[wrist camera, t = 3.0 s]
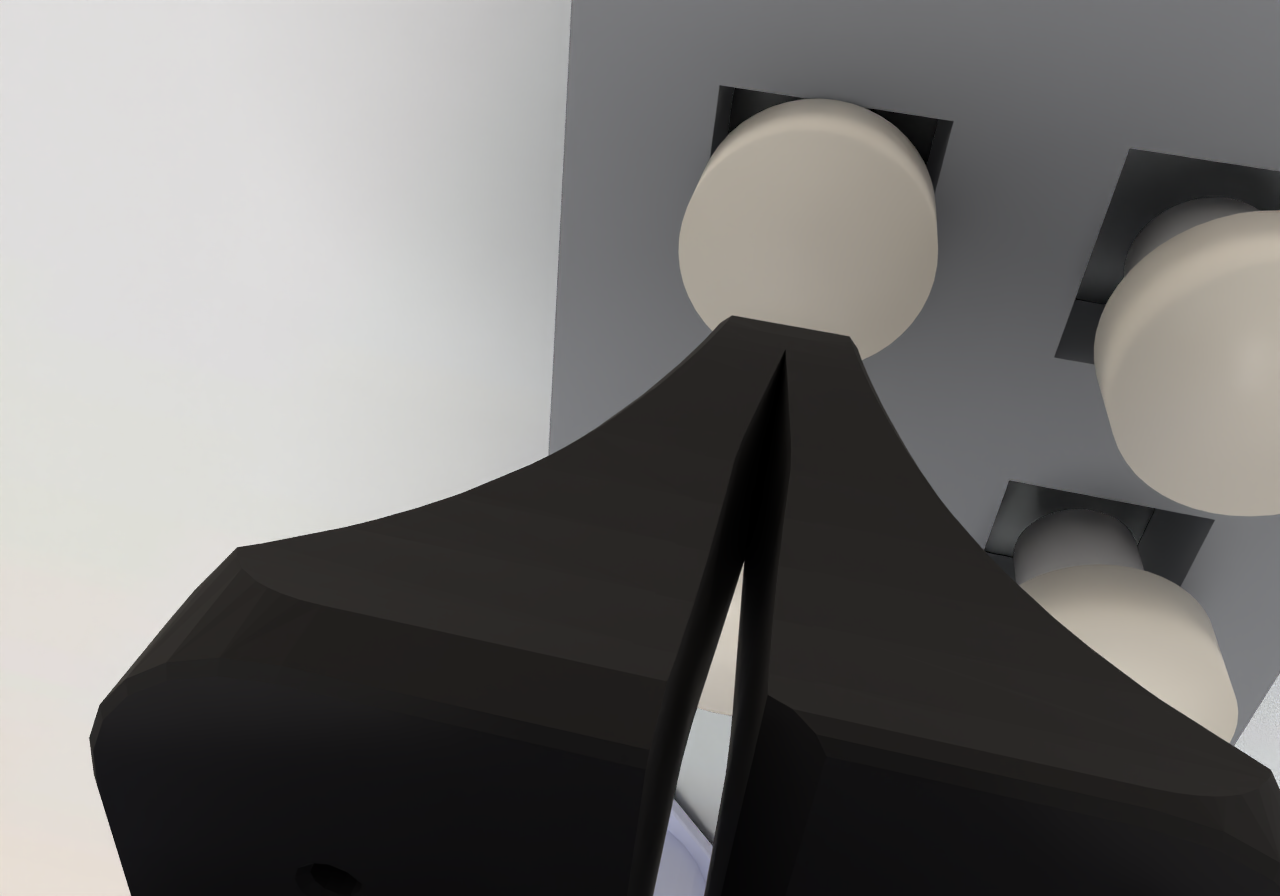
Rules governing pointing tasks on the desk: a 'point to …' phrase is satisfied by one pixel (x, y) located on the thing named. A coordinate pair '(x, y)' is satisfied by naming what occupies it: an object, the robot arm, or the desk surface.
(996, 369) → the board
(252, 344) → the desk surface
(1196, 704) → the button
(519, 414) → the desk surface
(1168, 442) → the button
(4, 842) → the desk surface
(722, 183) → the button
